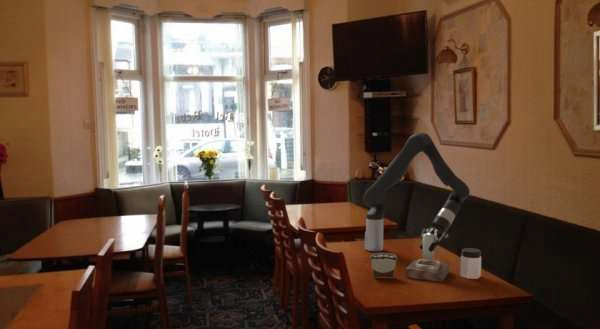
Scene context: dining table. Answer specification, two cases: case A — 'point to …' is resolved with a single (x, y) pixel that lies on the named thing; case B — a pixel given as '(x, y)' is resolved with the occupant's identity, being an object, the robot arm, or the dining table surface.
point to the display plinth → (427, 270)
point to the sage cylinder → (427, 246)
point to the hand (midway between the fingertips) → (425, 249)
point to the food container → (383, 265)
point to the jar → (471, 263)
